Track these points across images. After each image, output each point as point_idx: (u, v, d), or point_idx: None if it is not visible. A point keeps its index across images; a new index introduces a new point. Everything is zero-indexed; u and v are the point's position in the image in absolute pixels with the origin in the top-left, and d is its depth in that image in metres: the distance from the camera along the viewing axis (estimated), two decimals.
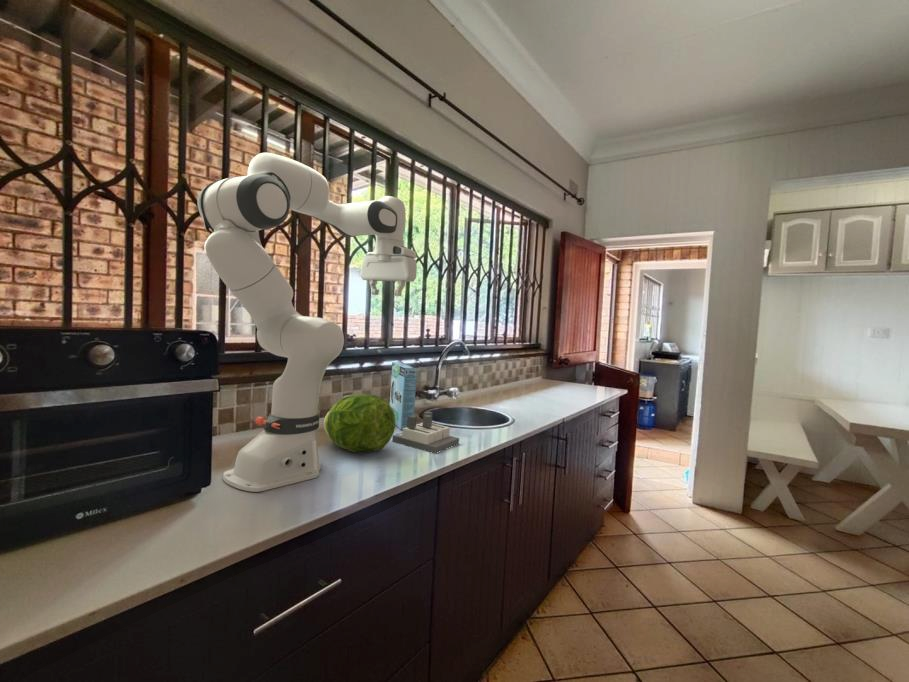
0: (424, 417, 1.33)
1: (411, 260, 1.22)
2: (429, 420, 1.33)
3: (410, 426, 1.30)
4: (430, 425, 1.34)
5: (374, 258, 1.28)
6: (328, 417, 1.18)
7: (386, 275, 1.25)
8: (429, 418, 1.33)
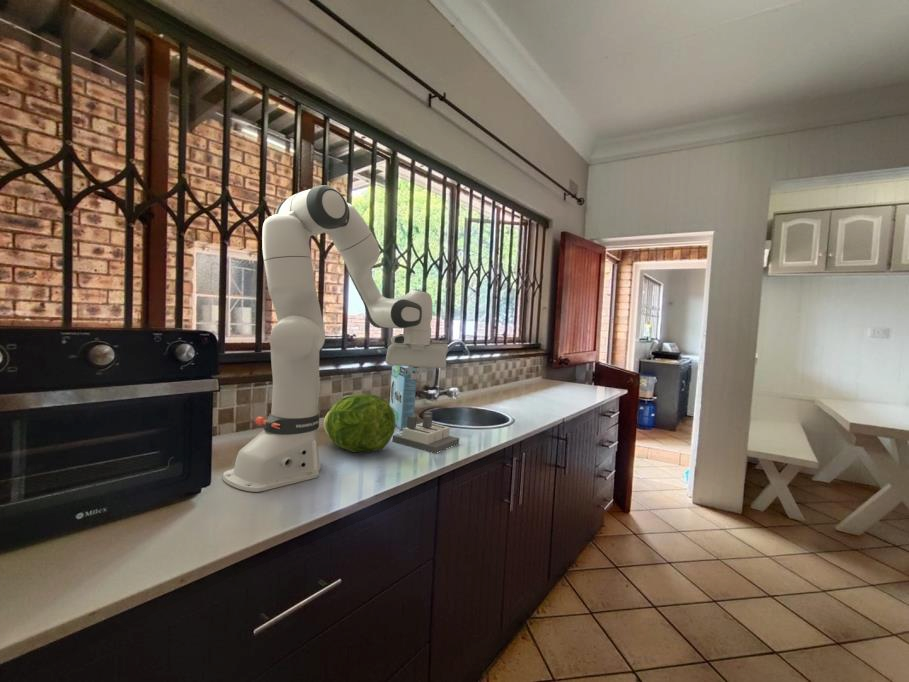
0: (424, 417, 1.33)
1: None
2: (429, 420, 1.33)
3: (410, 426, 1.30)
4: (430, 425, 1.34)
5: None
6: (328, 417, 1.18)
7: None
8: (429, 418, 1.33)
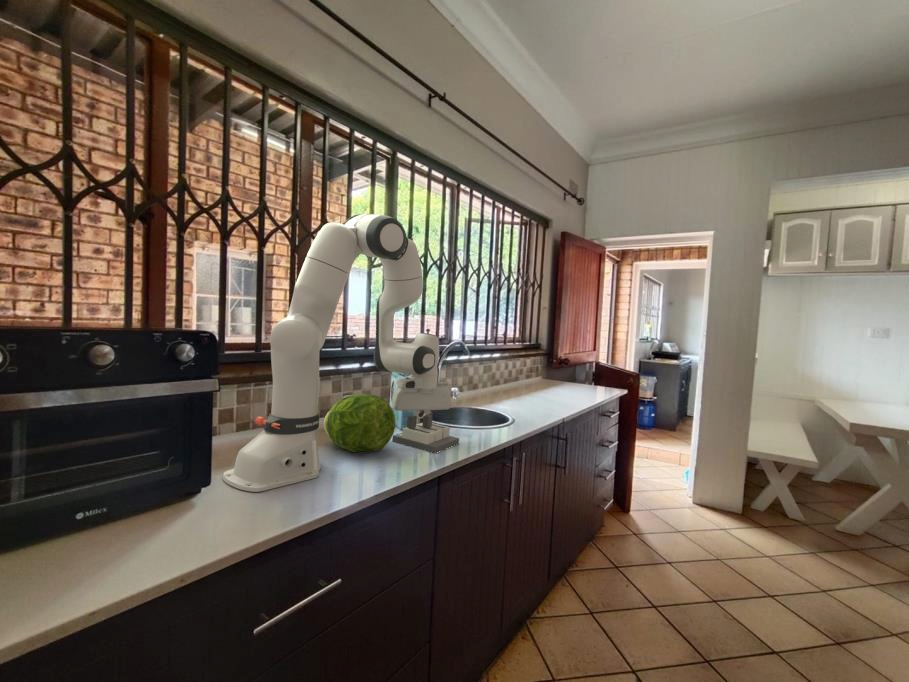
0: (424, 417, 1.33)
1: (395, 390, 1.31)
2: (429, 420, 1.33)
3: (410, 426, 1.30)
4: (430, 425, 1.34)
5: None
6: (328, 417, 1.18)
7: None
8: (429, 418, 1.33)
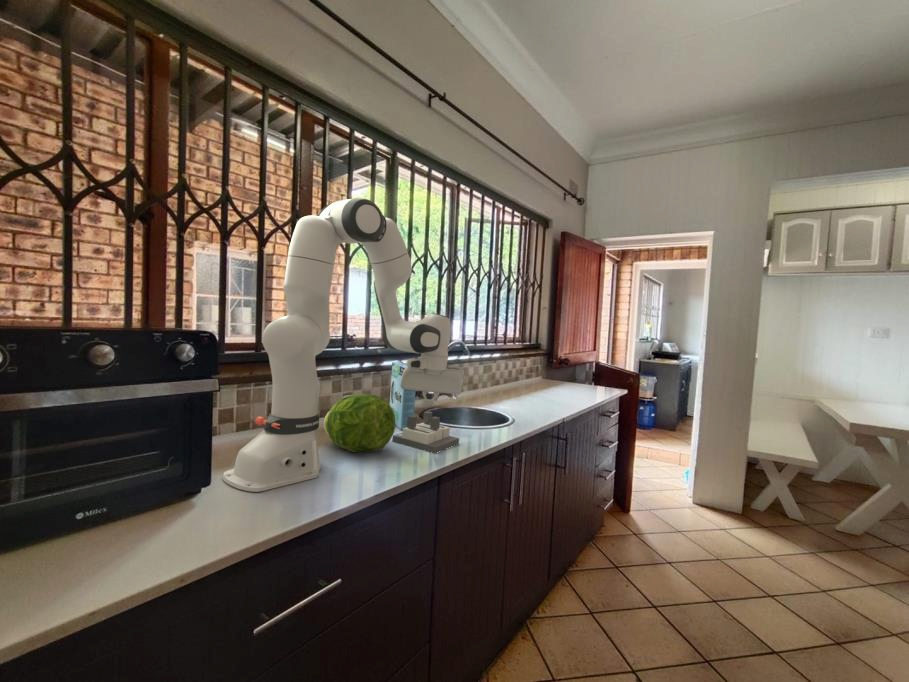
0: (432, 419, 1.31)
1: (404, 369, 1.32)
2: (437, 421, 1.31)
3: (410, 426, 1.30)
4: (438, 427, 1.32)
5: None
6: (328, 417, 1.18)
7: None
8: (437, 420, 1.31)
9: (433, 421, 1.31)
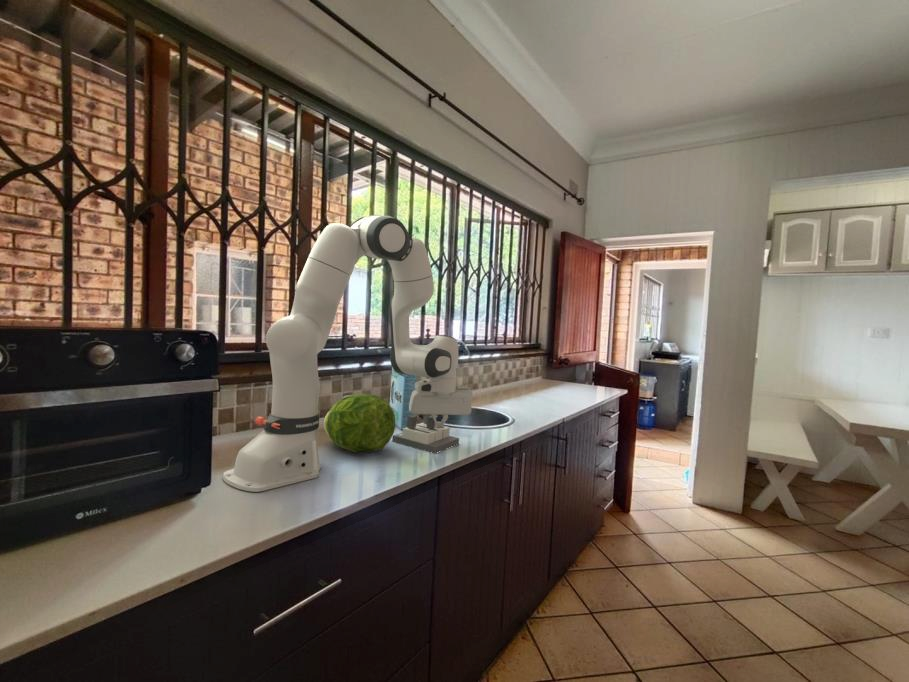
0: (428, 418, 1.32)
1: (412, 393, 1.29)
2: (433, 421, 1.32)
3: (410, 426, 1.30)
4: None
5: None
6: (328, 417, 1.18)
7: None
8: None
9: (429, 420, 1.32)
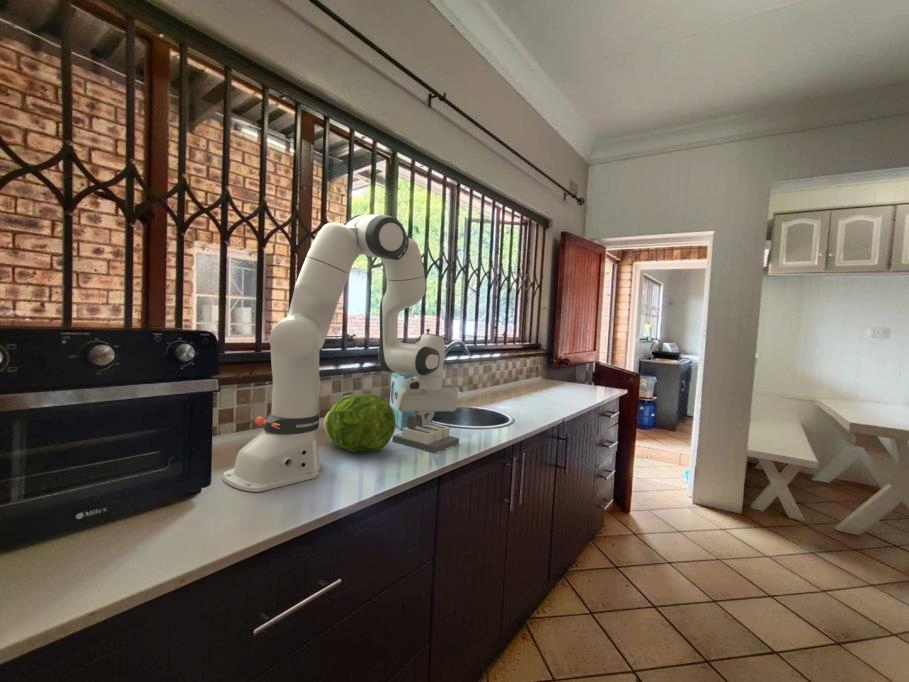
0: (416, 415, 1.34)
1: (400, 391, 1.30)
2: (421, 418, 1.35)
3: (410, 426, 1.30)
4: None
5: None
6: (328, 417, 1.18)
7: None
8: None
9: (417, 417, 1.34)
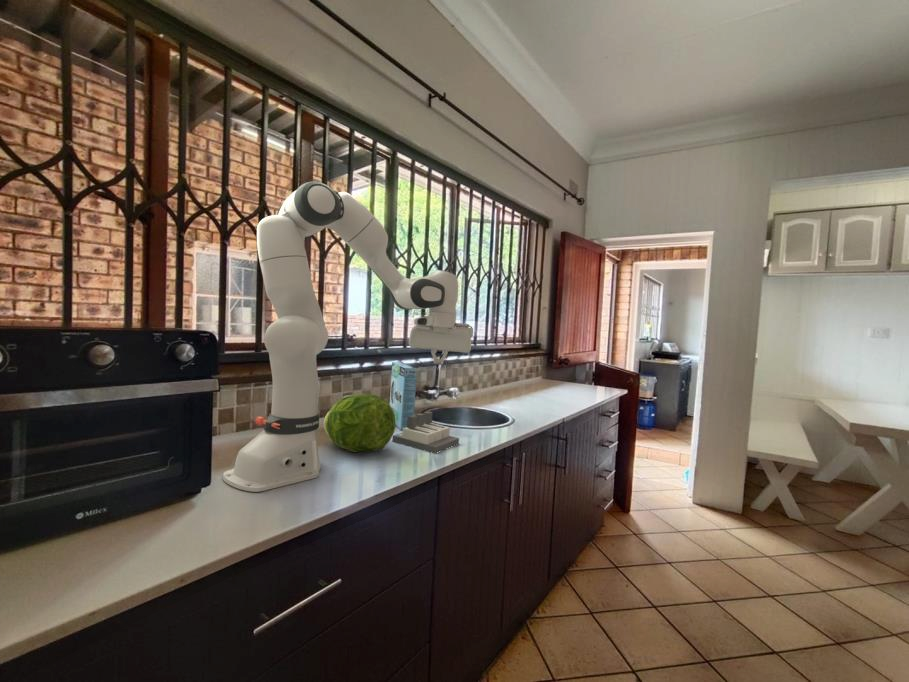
0: (416, 415, 1.34)
1: None
2: (422, 418, 1.35)
3: (410, 426, 1.30)
4: (422, 423, 1.35)
5: None
6: (328, 417, 1.18)
7: None
8: (421, 416, 1.34)
9: (418, 417, 1.34)
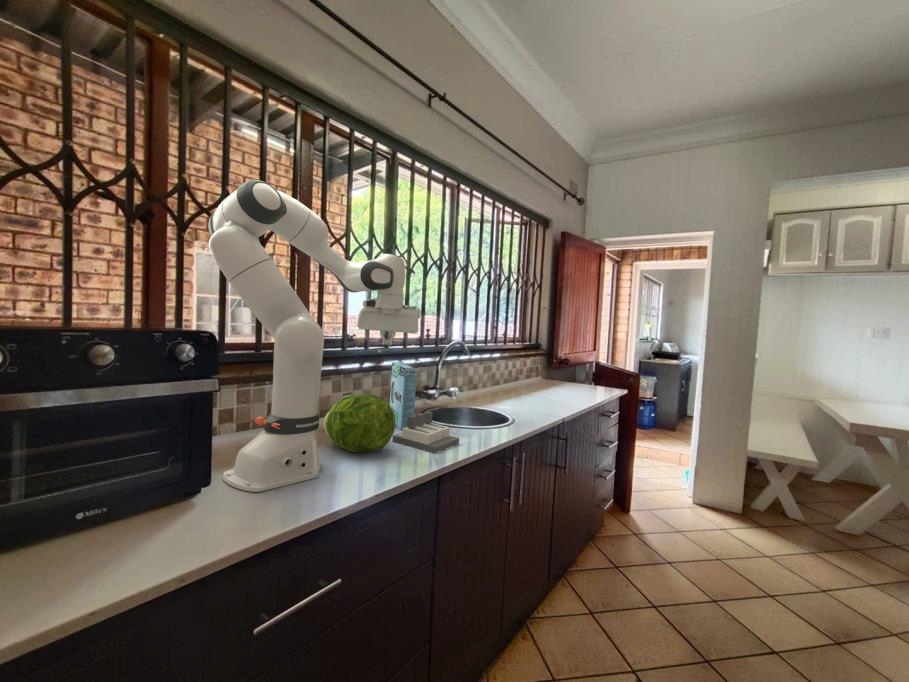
0: (416, 415, 1.34)
1: None
2: (422, 418, 1.35)
3: (410, 426, 1.30)
4: (422, 423, 1.35)
5: None
6: (328, 417, 1.18)
7: None
8: (421, 416, 1.34)
9: (418, 417, 1.34)
